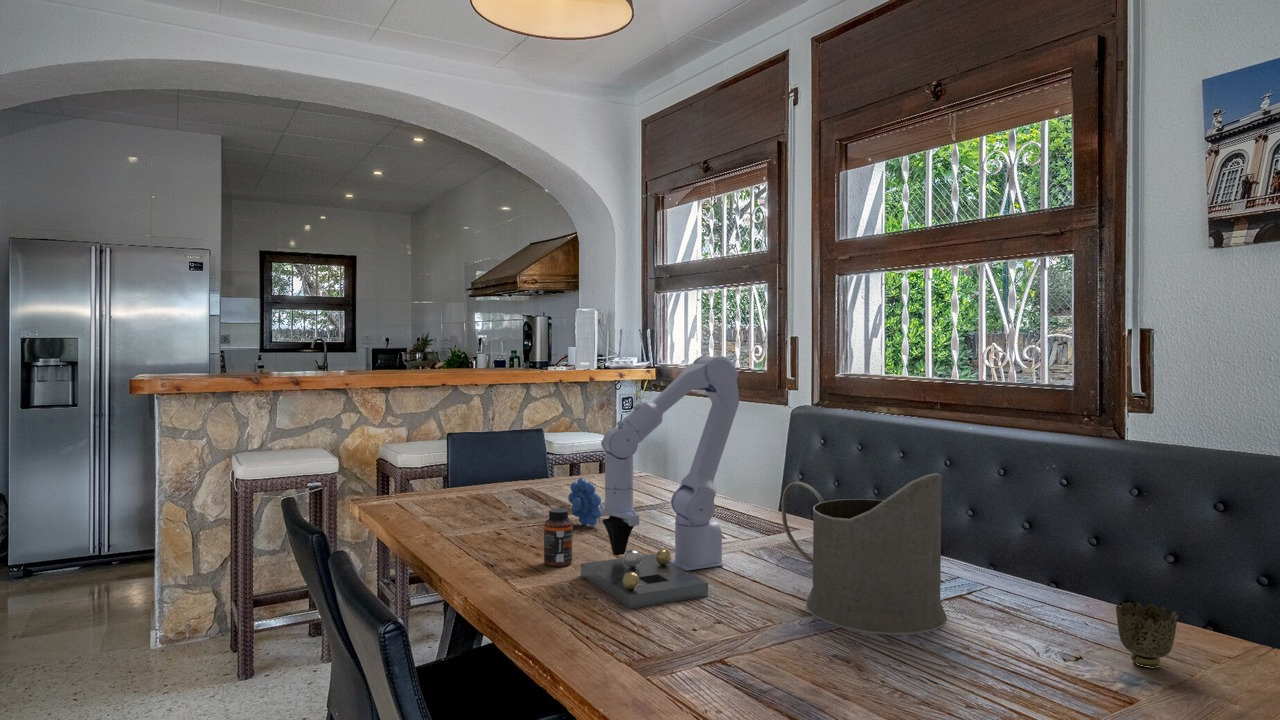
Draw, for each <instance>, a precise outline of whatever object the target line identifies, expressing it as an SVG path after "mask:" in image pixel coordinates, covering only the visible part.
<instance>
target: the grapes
mask: <svg viewBox="0 0 1280 720" xmlns="http://www.w3.org/2000/svg"><path fill="white" fill-rule="evenodd" d="M569 489H570V491H571V492H569V494H568V498H567V499H568V502H569V503H570V504H571V505H572V507H571V513H572V515H573V516H574V517H577V518H578V521H579V523H580V524H581V525H582V524H583V526H587V525H589V526H591V527H594V526H596V525H597V523H598V519H600V518H601V517H602V514H600V503H602V499H601V496H600V495H599V494H598V493H596V486H595V485H594V484H593V482H587V480H586V479H585V478H582V477H580V478H578V479H577V481H574V482H572V483H571V484H570V487H569ZM586 524H587V525H586Z"/></svg>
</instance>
